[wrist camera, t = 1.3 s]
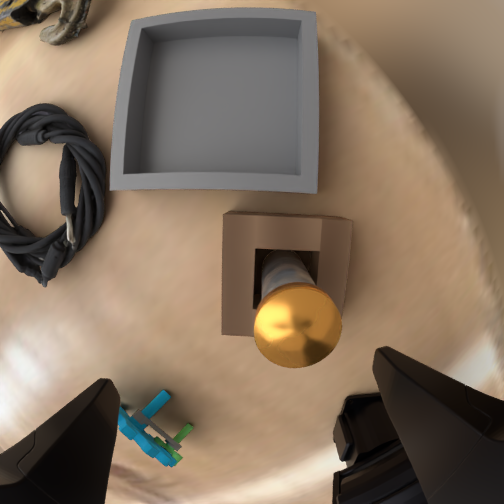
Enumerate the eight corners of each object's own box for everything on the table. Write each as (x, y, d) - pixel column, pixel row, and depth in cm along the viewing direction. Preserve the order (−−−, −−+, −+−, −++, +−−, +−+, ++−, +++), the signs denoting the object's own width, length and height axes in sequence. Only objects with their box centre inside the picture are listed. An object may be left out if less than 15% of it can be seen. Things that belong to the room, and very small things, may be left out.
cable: (-18, 183, 21) (-45, 185, 17) (42, 75, 19) (15, 63, 14) (58, 295, 23) (30, 312, 19) (140, 178, 21) (113, 176, 16)
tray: (308, 34, 17) (315, 11, 14) (307, 193, 20) (317, 193, 17) (147, 39, 18) (131, 20, 14) (131, 190, 20) (109, 190, 17)
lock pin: (308, 245, 21) (347, 290, 11) (304, 293, 21) (334, 367, 12) (258, 243, 21) (255, 287, 11) (256, 291, 22) (252, 366, 12)
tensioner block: (340, 217, 20) (352, 220, 17) (329, 320, 22) (338, 338, 19) (228, 211, 20) (223, 214, 18) (226, 316, 22) (221, 334, 19)
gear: (78, 381, 22) (96, 423, 15) (118, 345, 26) (152, 370, 18) (149, 445, 26) (192, 491, 18) (182, 412, 29) (234, 447, 22)
